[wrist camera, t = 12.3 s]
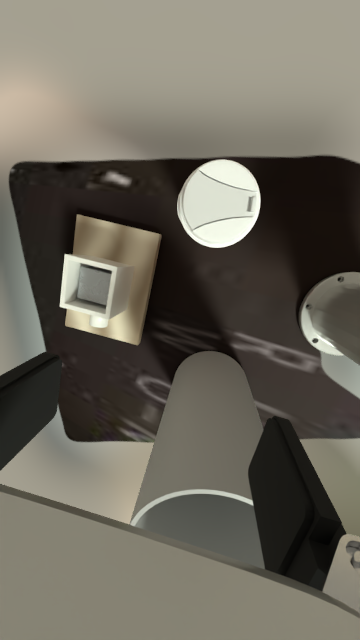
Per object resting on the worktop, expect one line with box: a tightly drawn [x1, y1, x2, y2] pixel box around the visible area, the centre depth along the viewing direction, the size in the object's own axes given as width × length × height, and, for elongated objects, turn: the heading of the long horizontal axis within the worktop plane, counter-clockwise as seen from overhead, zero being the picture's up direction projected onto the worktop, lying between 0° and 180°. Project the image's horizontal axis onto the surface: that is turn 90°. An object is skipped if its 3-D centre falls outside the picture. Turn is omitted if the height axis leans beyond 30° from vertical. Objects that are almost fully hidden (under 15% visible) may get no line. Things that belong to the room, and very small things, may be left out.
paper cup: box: [177, 159, 261, 248], centre depth 27 cm, size 8×8×14 cm
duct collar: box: [60, 254, 135, 328], centre depth 34 cm, size 7×10×7 cm
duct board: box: [65, 214, 162, 345], centre depth 37 cm, size 13×18×2 cm
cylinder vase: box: [130, 351, 265, 569], centre depth 28 cm, size 12×12×25 cm
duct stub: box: [77, 266, 112, 305], centre depth 34 cm, size 4×4×5 cm
